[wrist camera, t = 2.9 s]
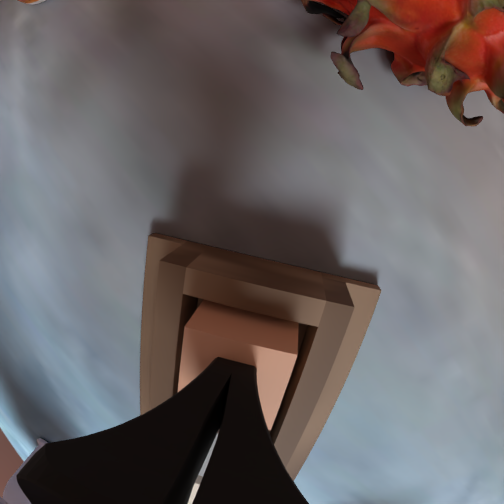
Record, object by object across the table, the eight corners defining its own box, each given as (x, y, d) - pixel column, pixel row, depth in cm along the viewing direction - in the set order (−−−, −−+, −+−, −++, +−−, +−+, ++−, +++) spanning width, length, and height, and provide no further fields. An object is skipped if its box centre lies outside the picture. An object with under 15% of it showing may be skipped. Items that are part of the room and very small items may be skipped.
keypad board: (145, 449, 18) (129, 479, 15) (154, 232, 14) (120, 249, 11) (286, 486, 17) (283, 520, 14) (378, 285, 13) (396, 315, 10)
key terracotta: (194, 370, 13) (176, 405, 11) (205, 297, 12) (184, 326, 10) (276, 391, 13) (270, 430, 10) (298, 320, 12) (297, 354, 9)
